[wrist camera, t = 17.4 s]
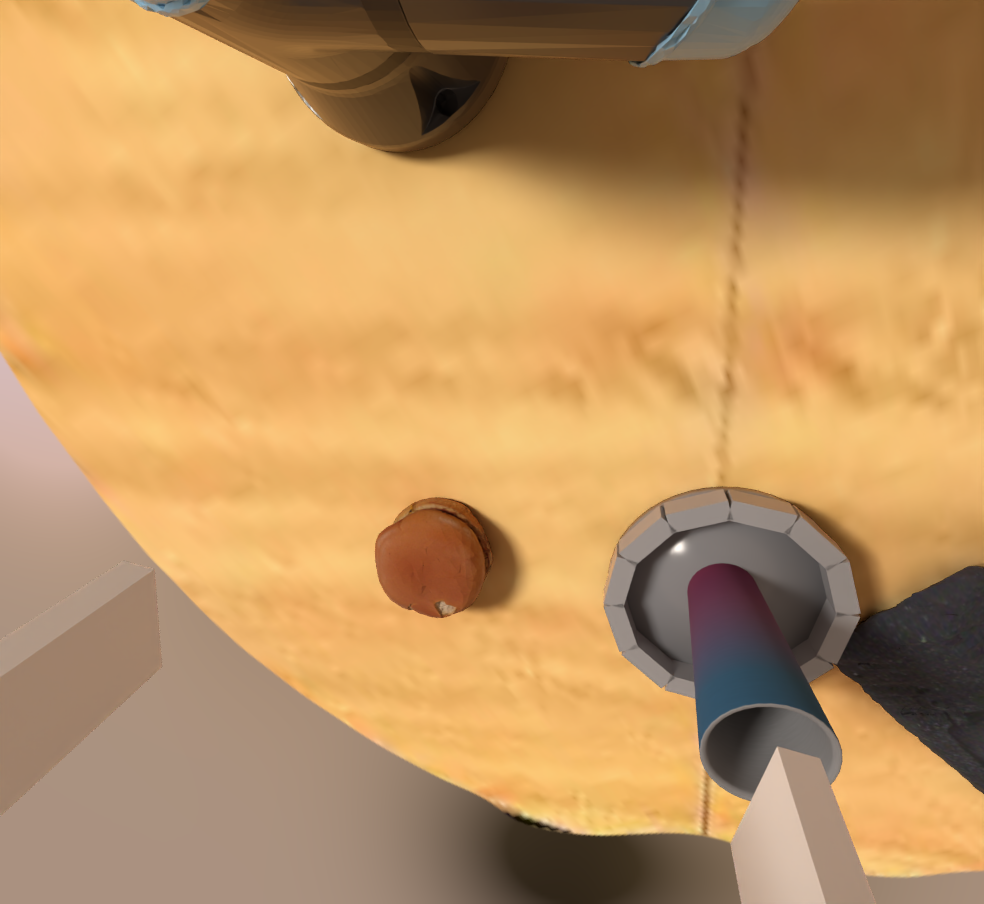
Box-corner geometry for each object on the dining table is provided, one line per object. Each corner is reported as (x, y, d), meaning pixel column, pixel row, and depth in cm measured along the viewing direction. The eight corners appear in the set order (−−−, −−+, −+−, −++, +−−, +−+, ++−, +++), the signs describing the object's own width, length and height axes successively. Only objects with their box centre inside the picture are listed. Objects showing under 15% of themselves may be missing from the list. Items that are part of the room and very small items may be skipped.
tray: (587, 643, 48) (585, 667, 46) (637, 463, 42) (638, 479, 39) (793, 699, 46) (804, 729, 43) (880, 518, 40) (899, 538, 37)
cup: (657, 580, 44) (673, 735, 30) (736, 536, 41) (793, 683, 27) (708, 642, 45) (747, 820, 31) (789, 603, 42) (870, 778, 28)
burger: (436, 474, 46) (418, 498, 42) (518, 551, 47) (507, 582, 43) (366, 543, 50) (342, 571, 46) (442, 613, 51) (426, 647, 47)
